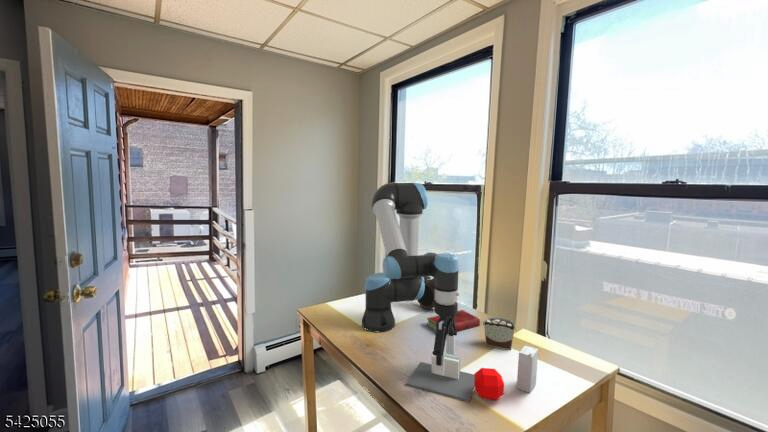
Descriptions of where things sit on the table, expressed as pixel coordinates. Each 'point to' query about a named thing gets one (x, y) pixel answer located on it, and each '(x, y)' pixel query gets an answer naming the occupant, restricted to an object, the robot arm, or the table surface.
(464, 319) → the hardcover book
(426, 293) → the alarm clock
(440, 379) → the mat
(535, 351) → the skincare box
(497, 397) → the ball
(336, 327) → the table surface
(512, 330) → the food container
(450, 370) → the tile
